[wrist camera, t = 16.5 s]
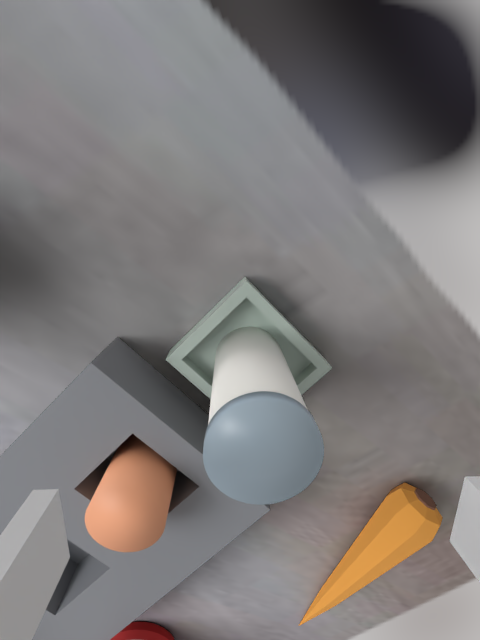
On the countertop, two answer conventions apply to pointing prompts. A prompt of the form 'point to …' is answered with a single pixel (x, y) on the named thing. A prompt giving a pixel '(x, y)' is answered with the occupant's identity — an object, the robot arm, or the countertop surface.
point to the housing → (85, 476)
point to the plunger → (131, 498)
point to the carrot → (381, 545)
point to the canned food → (143, 632)
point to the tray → (235, 312)
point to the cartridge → (258, 423)
